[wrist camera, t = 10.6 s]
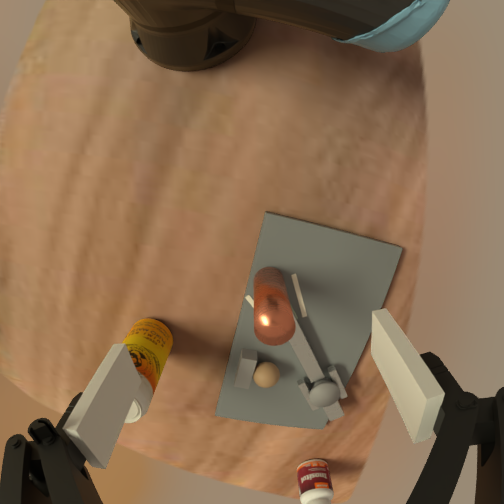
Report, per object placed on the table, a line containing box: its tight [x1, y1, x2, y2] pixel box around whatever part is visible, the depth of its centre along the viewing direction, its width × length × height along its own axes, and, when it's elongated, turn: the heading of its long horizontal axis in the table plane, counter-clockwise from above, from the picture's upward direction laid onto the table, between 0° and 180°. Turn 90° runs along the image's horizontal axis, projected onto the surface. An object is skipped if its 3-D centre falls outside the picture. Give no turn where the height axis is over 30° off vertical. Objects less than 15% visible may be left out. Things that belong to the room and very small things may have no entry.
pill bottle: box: [297, 459, 334, 504], centre depth 45 cm, size 6×6×11 cm
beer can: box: [122, 318, 173, 423], centre depth 35 cm, size 6×6×15 cm
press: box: [215, 211, 403, 429], centre depth 40 cm, size 32×18×5 cm, turn 167°
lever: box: [253, 267, 348, 421], centre depth 35 cm, size 27×6×12 cm, turn 26°
